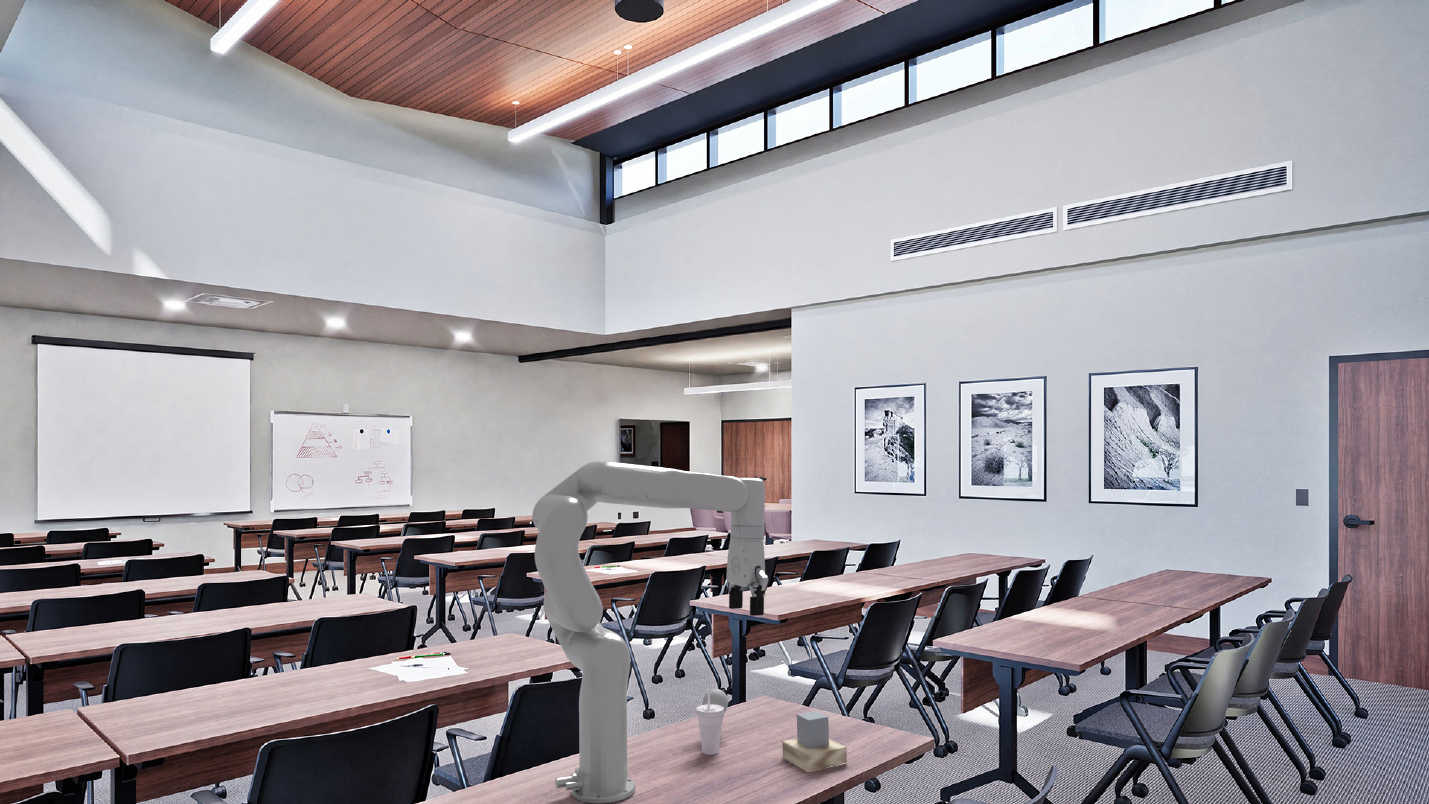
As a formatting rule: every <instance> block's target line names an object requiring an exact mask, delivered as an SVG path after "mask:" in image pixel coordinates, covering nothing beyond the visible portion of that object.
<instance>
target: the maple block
mask: <svg viewBox="0 0 1429 804" xmlns="http://www.w3.org/2000/svg"><path fill="white" fill-rule="evenodd" d="M781 743H782V759H783V760H785V759H786V761H787V760H788V761H787V762H789V763H790V762H791V764H792V763H793V764H792V765H794V766H796V767H797V766H798V767H797V768H799V767H800V769H801V770H803V769H804V770H805V771H804V770H803V771H804V772H806V771H807V772H806V773H808V772H809V773H812V772H811V771H813V772H816V771H815V770H818V769H823V770H825V769H824V768H827V767H830V766H836V765H839V764H842V763H847V764H848V760H847V759H848V756H847V755H848V754H847V753H848V751H847V746H845V745H843V744H842V743H839V742H837V741H835V740H833V739H832V738H829V745H828V746H822V747H817V748H812V749H809V748H807V747H805V746H803V745H802V744H800V743H798V742H797V738H793V739H786V740H782V742H781ZM836 767H837V766H836ZM827 769H828V768H827ZM818 771H819V770H818Z"/></svg>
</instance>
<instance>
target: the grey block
mask: <svg viewBox="0 0 1429 804" xmlns="http://www.w3.org/2000/svg"><path fill="white" fill-rule="evenodd" d="M829 723H830V722H829V716H828V715H825V714H823V713H822V712H819V711H818V710H813V711H806V712H802V713H796V731H797V732H796V733H797V735H796V736H797V742H798V743H800V744H802V745H803V746H805V747H807V748H809V749H812V748H817V747H822V746H828V745H829V739H830V732H829V731H830V729H829V727H830V726H829Z"/></svg>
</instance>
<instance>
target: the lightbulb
mask: <svg viewBox="0 0 1429 804" xmlns="http://www.w3.org/2000/svg"><path fill="white" fill-rule="evenodd" d="M707 704H708V696H707V692H706V693H705V694H704V696H703V697H702V705H707ZM710 704H715V705H720V706H722V707H723V708H724V714H723V715H722V721H723V720H724V716H725V714H726V711H727V708H728V707H729V697H728V695H727V694H726V692H724V691H723V690H721V689H719V688H710Z"/></svg>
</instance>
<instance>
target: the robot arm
mask: <svg viewBox="0 0 1429 804" xmlns="http://www.w3.org/2000/svg"><path fill="white" fill-rule="evenodd" d="M765 497H766V485H765V482H764V480H763V479H761V478H758V477H736V476H731V475H718V474H712V473H702V472H693V471H686V470H681V469H676V468H671V467H670V468H669V467H668V468H667V467H661V466H652V465H651V466H650V465H642V464H635V463H634V464H632V463H627V462H626V463H625V462H617V461H616V462H615V461H591V462H588V463H586V464H584V465H582V466H581V467H580V468H578V469H576V471H574V472H573V473H571V474H570V475H569V476H568V477H566V478H565V479H564V480H563V481H561V482H560V483H558V484H557V485H556V486H555V487H553V488H552V489H550V490H549V491H548V492H547V493H546V494H544V495H543V496H541V498H539V499H538V500H537V501H536V503H535V505H534V507H533V510H532V515H531V516H532V517H531V518H532V522H533V525H534V527H535V528H536V530H537V531H538V534H537V538H536V541H535V546H534V547H535V548H534V562H535V566H536V567H535V568H536V569H537V573H538V575H539V577H540V579H541V582H542V584H543V586H544V588H545V590H546V591H545V594H544V598H543V610H544V615H545V616H546V619H547V621H548V624H549V625H550V627H551V629H552V631H553V633H554V635H555V637H556V639H557V641H558V643H559V645H560V646H561V649H562V650H563V652H564V654H565V656H566V657H567V660H568V661H569V662H570V663H571V664H572V665H573V666H575V668H577V669H579V670H580V671H581V673H582V678H581V684H580V690H579V698H578V700H579V701H578V712H579V713H578V714H579V715H578V716H579V717H578V718H579V719H578V720H579V721H578V723H579V725H578V726H579V728H578V729H579V732H578V733H579V736H578V737H579V743H578V744H579V747H578V748H579V749H578V750H579V755H578V756H579V767H575V768H574V773H571V774H570V775H569V776H561V777H556V778H555V783H554V784H555V788H556V789H562V788H565V790H566V791H571V796H572V797H573V798H574V799H576V800H577V801H580V802H582V803H588V804H611V803H615V802H619V801H622V800H625V799H628V798H629V797H631V796H632V795H633V794H634V792H635V791H636V782H635V781H634V780H633V779H632V778H630V777H628V683H629V675H630V669H631V651H630V649H629V646H628V644H627V643H626V641H625V640H624V638H623V637H621V635H619V634H617V633H616V632H614V631H612V630H610V629H608V628H606V627H604V626H603V625H602V623H601V620H602V618H603V609H604V608H603V603H602V600H601V598H600V595H599V593H598V592H597V590H596V588H595V587H594V584H593V583H592V580H591V579H590V576H589V575H588V572H587V571H586V569H585V566H584V565H583V562H582V559H581V557H580V552H579V544H580V543H579V542H580V539H581V537H582V534H583V533H584V531H585V529H586V527H587V523H588V519H589V517H588V516H589V515H588V511H589V510H590V509H592V507H594V506H595V505H596V504H598V503H604V504H613V505H614V504H617V505H623V506H624V505H625V506H637V507H649V508H660V509H692V510H693V509H695V510H706V511H715V512H728V513H730V537H729V538H730V540H729V544H728V550H727V551H728V552H727V561H726V562H727V564H726V581H727V583H728V587H727V588H728V608H729V609H731V610H734V609H735V610H736V609H737V610H738V609H739V610H740V609H742V608H743V606H744V605H743V604H744V603H743V602H744V601H743V599H744V593H743V592H744V590H743V589H742V588H745V587H748V588H749V591H750V594H751V596H749V615H750V616H752V617H753V616H754V617H755V616H763V615H764V614H765V597H766V591H767V590H768V588H767V587H768V583H769V577H768V575H767V574H766V560H765V559H766V557H765V547H764V541H765V515H766V514H765V513H766V512H765V511H766V509H765V508H766V504H765V503H766V501H765V500H766V498H765ZM755 588H756V589H755Z"/></svg>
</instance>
